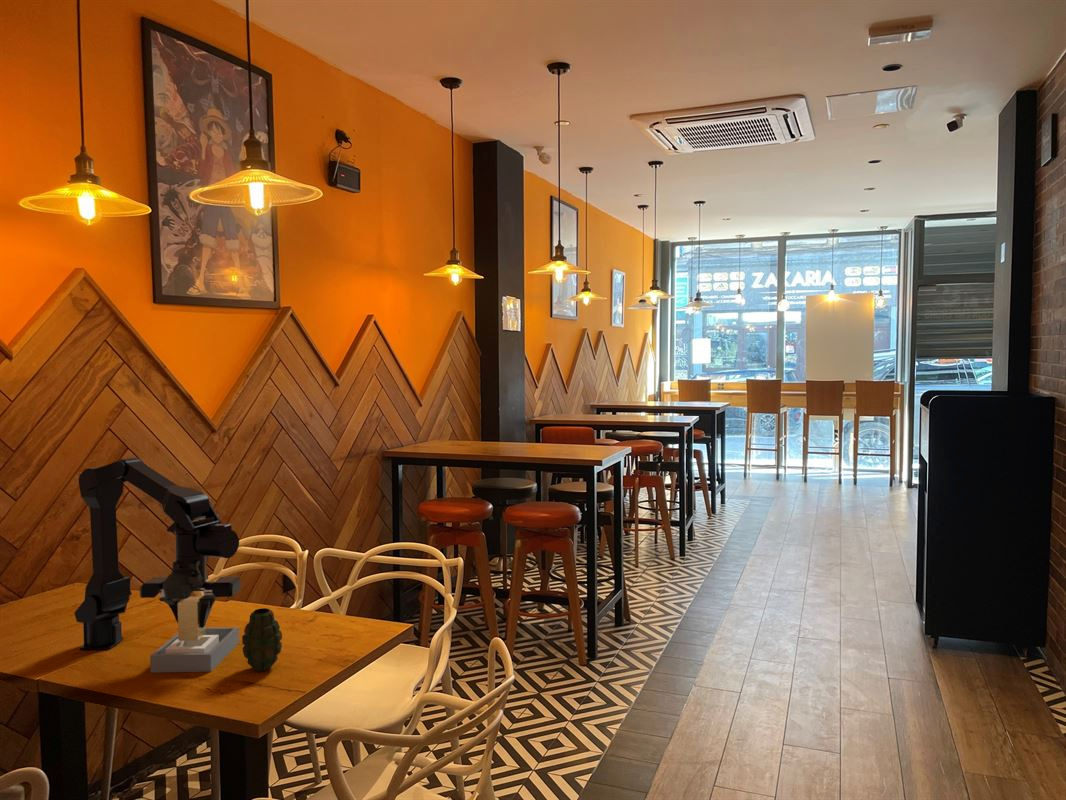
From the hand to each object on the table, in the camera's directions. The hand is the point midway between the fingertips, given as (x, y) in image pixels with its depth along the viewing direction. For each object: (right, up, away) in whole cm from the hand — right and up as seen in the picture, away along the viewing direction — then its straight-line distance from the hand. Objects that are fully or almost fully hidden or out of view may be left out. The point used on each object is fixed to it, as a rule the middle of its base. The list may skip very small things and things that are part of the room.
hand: (192, 627), depth 157 cm
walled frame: (0, -7, +2) cm, 7 cm away
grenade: (+16, -7, -4) cm, 18 cm away
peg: (0, -2, 0) cm, 2 cm away
